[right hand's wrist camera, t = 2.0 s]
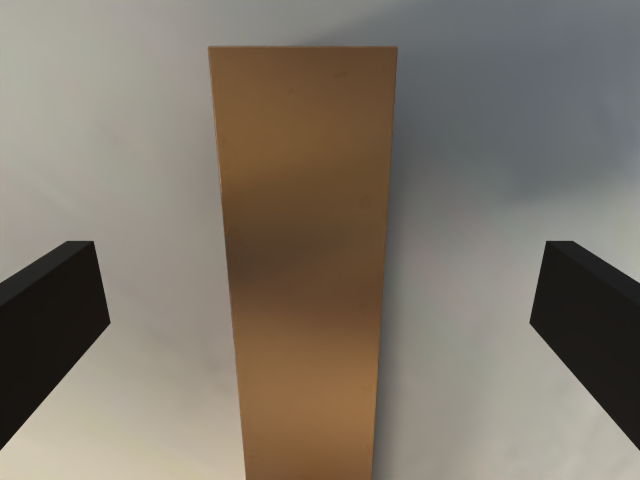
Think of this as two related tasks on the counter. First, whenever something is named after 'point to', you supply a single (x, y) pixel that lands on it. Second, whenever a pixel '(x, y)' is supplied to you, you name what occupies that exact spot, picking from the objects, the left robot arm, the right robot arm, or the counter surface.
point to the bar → (305, 248)
